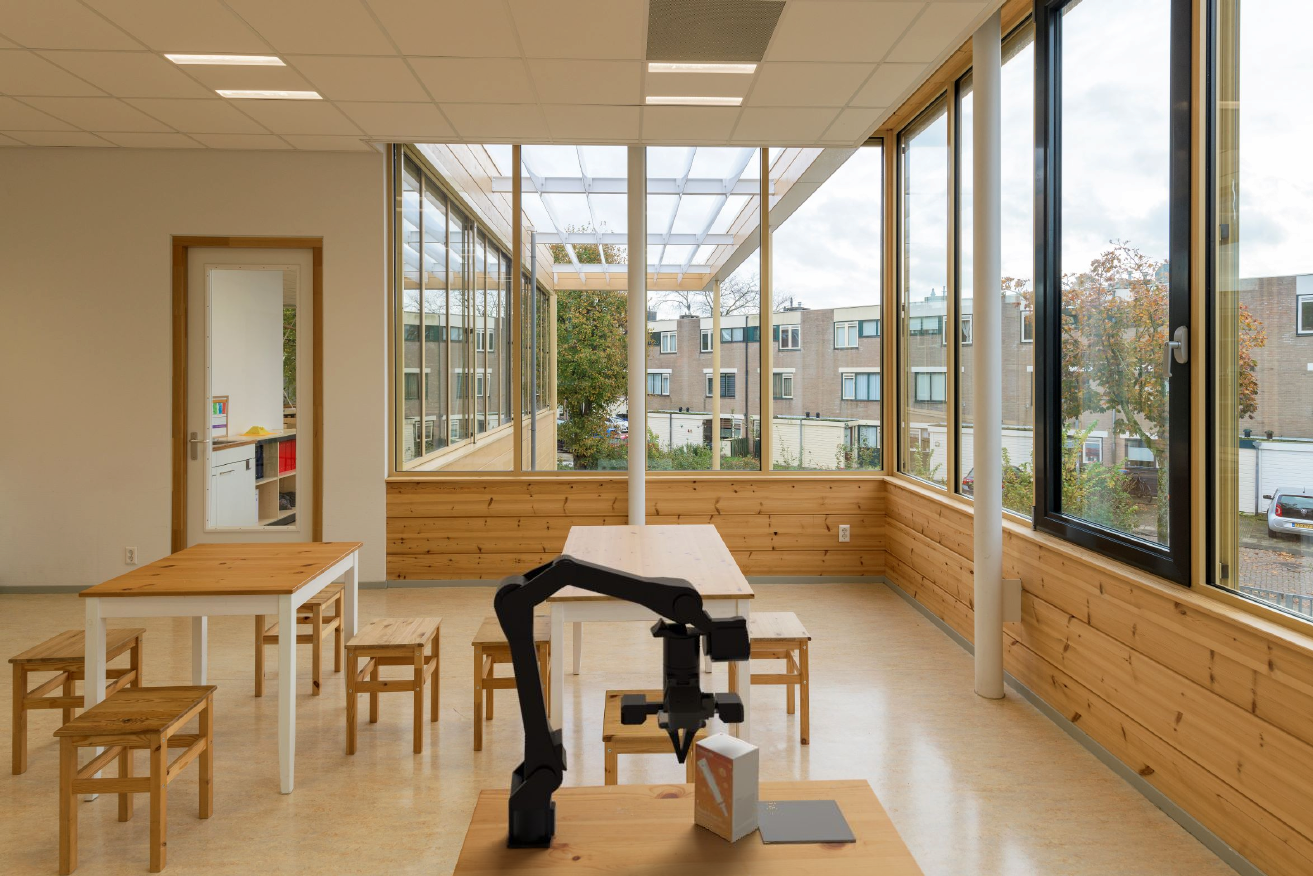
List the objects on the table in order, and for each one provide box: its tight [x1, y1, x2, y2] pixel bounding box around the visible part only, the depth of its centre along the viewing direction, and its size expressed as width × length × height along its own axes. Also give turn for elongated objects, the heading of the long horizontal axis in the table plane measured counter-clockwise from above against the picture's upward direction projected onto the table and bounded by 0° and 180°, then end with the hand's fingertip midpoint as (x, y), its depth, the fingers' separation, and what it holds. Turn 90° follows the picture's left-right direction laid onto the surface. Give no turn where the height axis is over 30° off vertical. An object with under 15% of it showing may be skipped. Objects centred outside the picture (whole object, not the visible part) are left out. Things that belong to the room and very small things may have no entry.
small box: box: [693, 731, 760, 844], centre depth 124 cm, size 8×6×13 cm
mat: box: [758, 799, 857, 844], centre depth 126 cm, size 14×12×1 cm
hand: (681, 762), depth 124 cm, fingers closed
